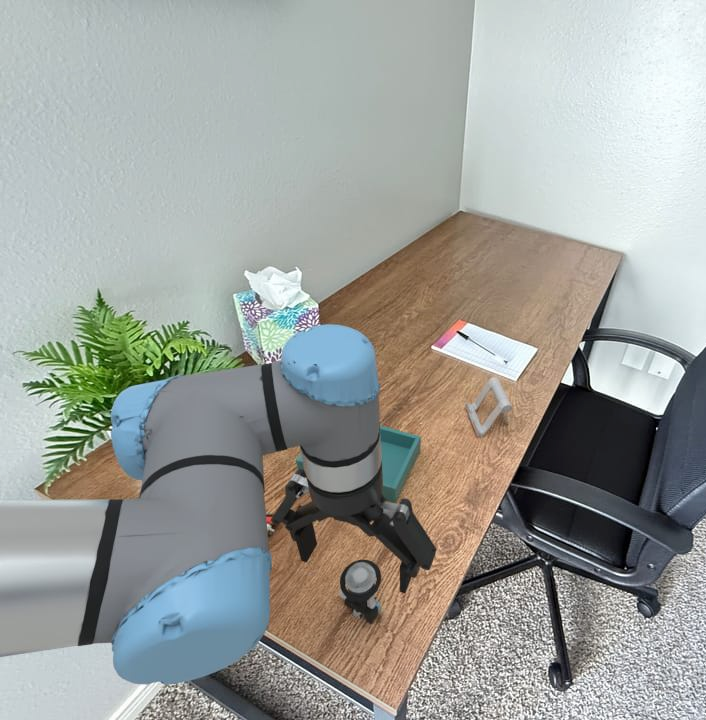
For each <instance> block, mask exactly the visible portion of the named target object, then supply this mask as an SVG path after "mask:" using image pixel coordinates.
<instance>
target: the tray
mask: <svg viewBox="0 0 706 720" xmlns="http://www.w3.org/2000/svg"><path fill="white" fill-rule="evenodd" d="M380 437H381V456H382V459H381V460H382V473H383V489H382V493H383V495H384V497H385V498H386V500H387V502H391V503H396V504H397V501H398V499H399V497H400V494H401V492H402V490H403V488H404V487H405V484H406V482H407V479H408V478H409V475H410V473H411V472H412V469H413V466H414V465H415V463H416V461H417V458H418V457H419V454H420V452H421V439H422V436H420V435H416V434H413V433H409V432H406V431H402V430H399V429H394V428H391V427H387V426H385V425H380ZM295 462H296V468H297V470H298V469H303V470H304V465H303V460H302V455H301V453H300V454H299V455H298V457H296V459H295ZM304 471H305V470H304Z"/></svg>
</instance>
